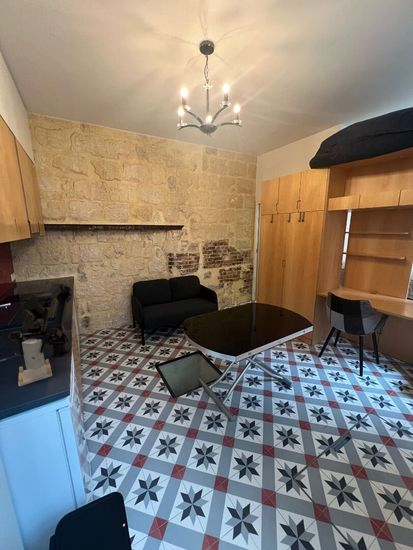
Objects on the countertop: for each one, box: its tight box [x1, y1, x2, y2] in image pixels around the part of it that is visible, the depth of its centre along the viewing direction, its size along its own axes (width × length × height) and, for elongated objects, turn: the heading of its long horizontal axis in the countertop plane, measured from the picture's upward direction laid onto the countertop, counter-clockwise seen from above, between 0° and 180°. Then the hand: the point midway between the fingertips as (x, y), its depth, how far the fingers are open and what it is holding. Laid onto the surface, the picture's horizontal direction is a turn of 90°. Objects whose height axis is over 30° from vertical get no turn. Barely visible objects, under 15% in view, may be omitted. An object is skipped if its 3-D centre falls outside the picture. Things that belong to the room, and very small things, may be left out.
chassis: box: [17, 358, 53, 387], centre depth 107 cm, size 12×12×4 cm
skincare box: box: [22, 337, 46, 370], centre depth 101 cm, size 6×4×12 cm
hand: (31, 354), depth 99 cm, fingers closed on skincare box, 7 cm apart
